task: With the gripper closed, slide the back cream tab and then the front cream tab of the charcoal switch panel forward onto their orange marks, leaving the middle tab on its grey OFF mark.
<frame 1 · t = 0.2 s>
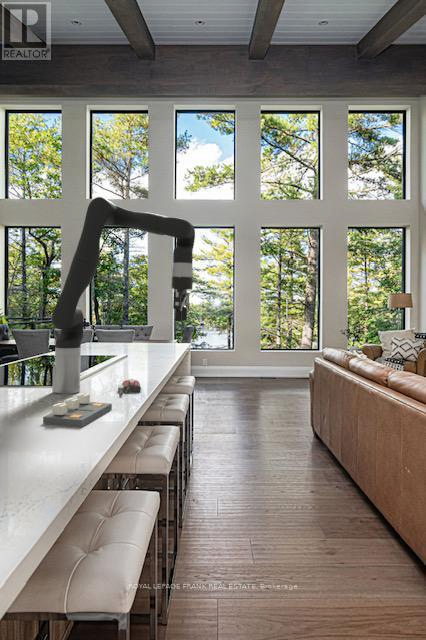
hand: (181, 320, 153), 29 cm above the kitchen island, fingers open, 8 cm apart
tab back: (83, 398, 136), point 4 cm above the kitchen island, slide at 0.0 cm
switch panel: (79, 416, 129), on the kitchen island
walkie-talkie: (129, 392, 166), on the kitchen island
tab front: (60, 408, 122), point 4 cm above the kitchen island, slide at 0.0 cm
tab middle: (72, 403, 129), point 4 cm above the kitchen island, slide at 0.0 cm
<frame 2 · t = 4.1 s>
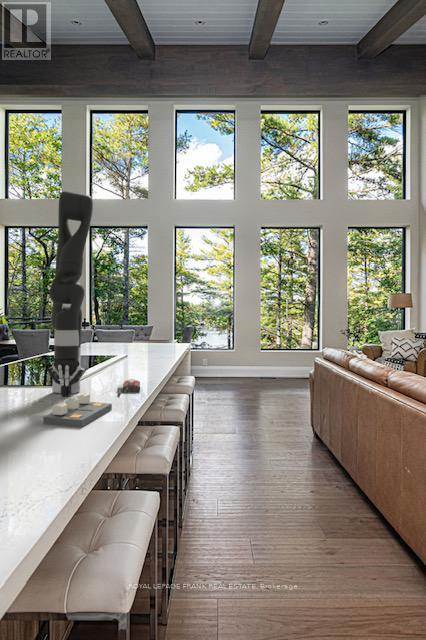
hand: (66, 396, 137), 4 cm above the kitchen island, fingers closed
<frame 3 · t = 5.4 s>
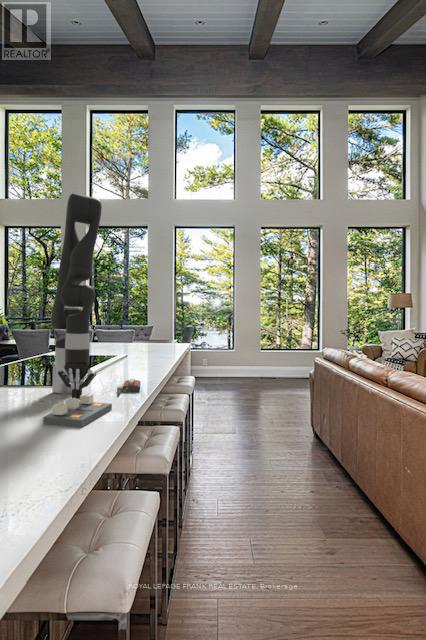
hand: (76, 400, 136), 3 cm above the kitchen island, fingers closed
tab back: (86, 398, 136), point 4 cm above the kitchen island, slide at 1.2 cm, touching gripper
everything else where it was.
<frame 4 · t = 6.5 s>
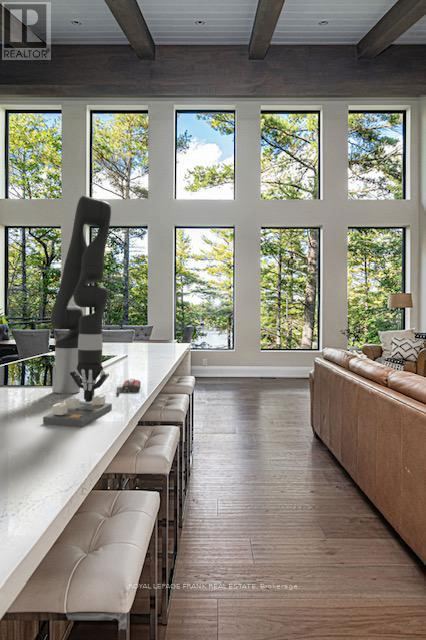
hand: (89, 401, 136), 3 cm above the kitchen island, fingers closed
tab back: (98, 399, 135), point 4 cm above the kitchen island, slide at 5.4 cm, touching gripper
everything else where it was.
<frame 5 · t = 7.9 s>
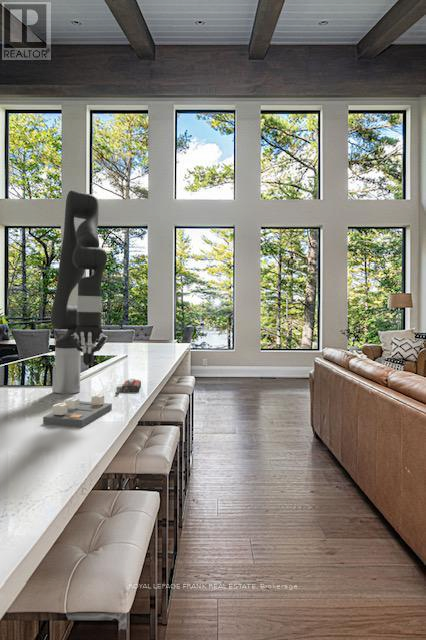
hand: (88, 364, 134), 15 cm above the kitchen island, fingers closed
tab back: (97, 399, 135), point 4 cm above the kitchen island, slide at 5.1 cm
everything else where it was.
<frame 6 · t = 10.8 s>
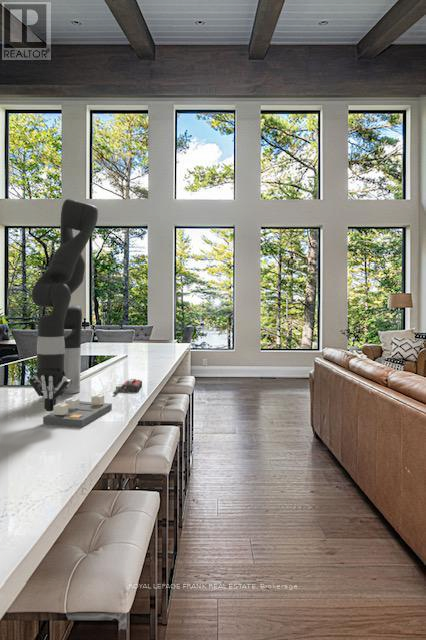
hand: (50, 410, 123), 3 cm above the kitchen island, fingers closed
tab front: (60, 408, 122), point 4 cm above the kitchen island, slide at 0.3 cm, touching gripper
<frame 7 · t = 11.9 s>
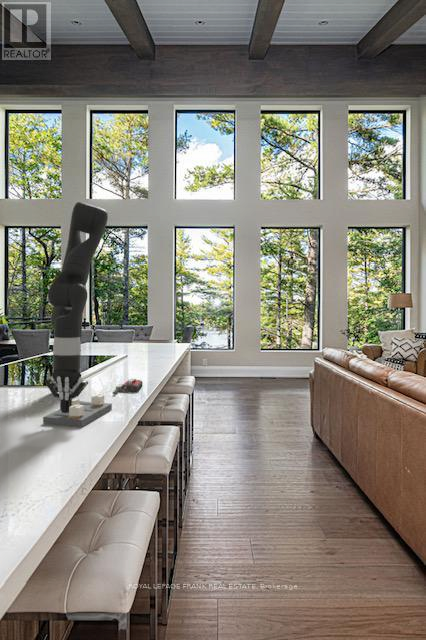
hand: (65, 412, 122), 3 cm above the kitchen island, fingers closed
tab front: (76, 409, 121), point 4 cm above the kitchen island, slide at 5.2 cm, touching gripper
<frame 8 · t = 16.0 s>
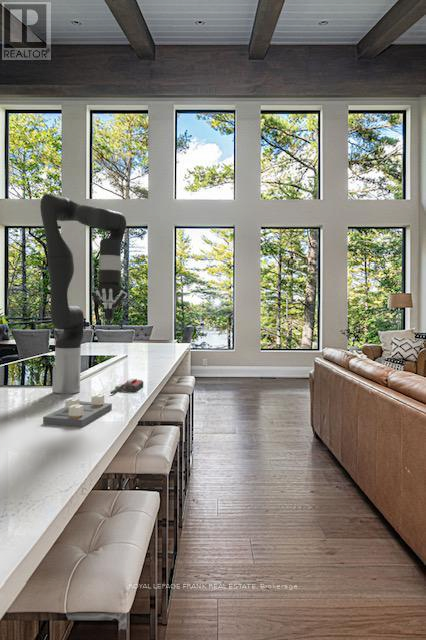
hand: (109, 319, 145), 29 cm above the kitchen island, fingers closed
tab front: (76, 409, 121), point 4 cm above the kitchen island, slide at 5.1 cm
at the end: tab front slide at 5.1 cm; tab back slide at 5.1 cm; tab middle slide at 0.0 cm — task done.
